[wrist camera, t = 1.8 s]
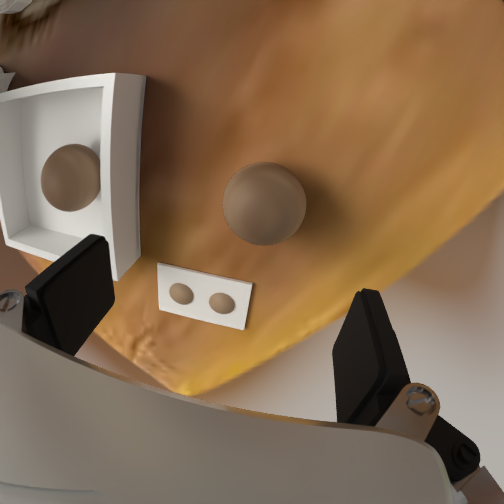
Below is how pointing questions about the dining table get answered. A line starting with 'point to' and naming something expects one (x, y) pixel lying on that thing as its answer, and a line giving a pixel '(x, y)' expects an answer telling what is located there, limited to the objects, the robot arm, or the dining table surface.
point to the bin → (63, 133)
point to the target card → (203, 295)
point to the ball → (71, 177)
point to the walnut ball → (264, 203)
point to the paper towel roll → (5, 80)
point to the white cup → (13, 5)
